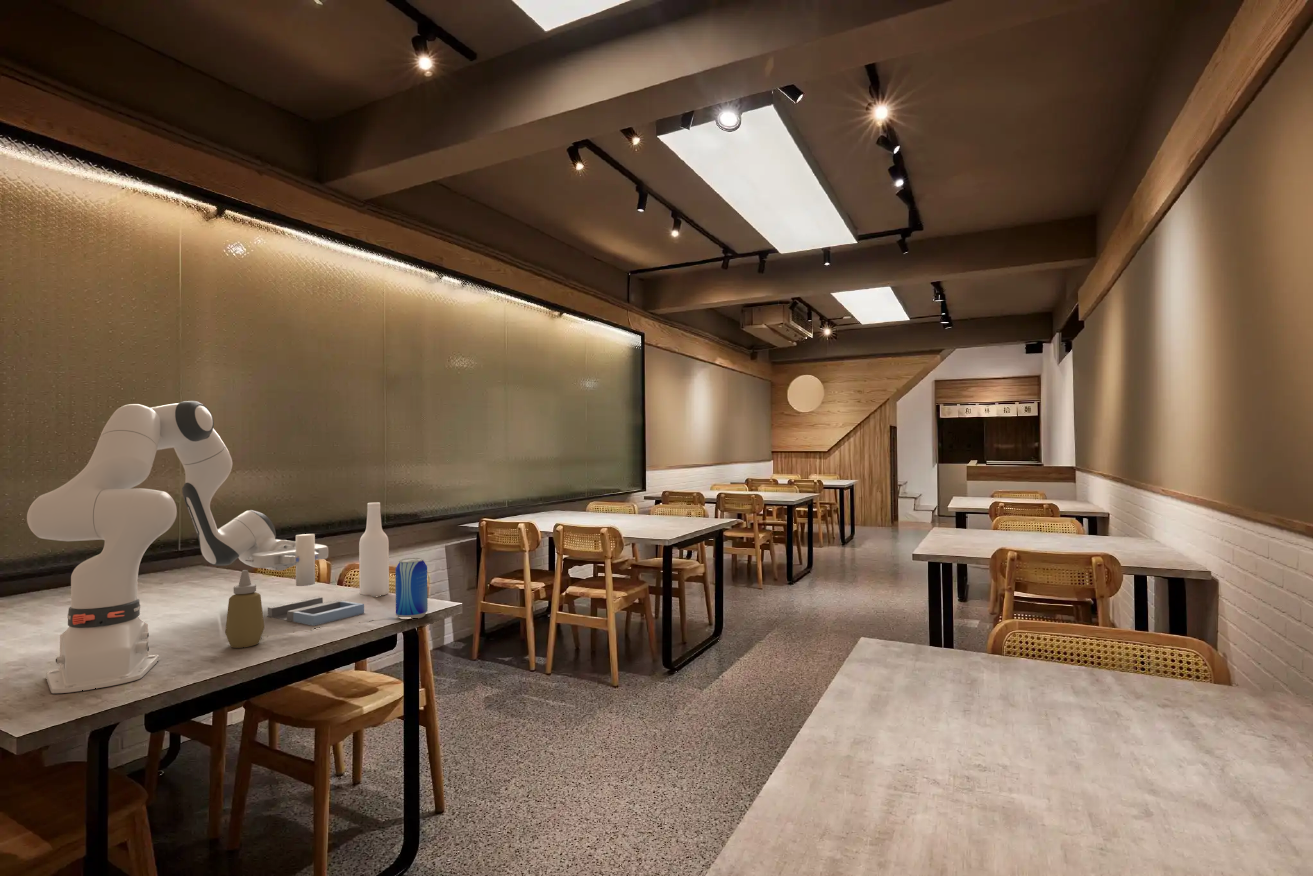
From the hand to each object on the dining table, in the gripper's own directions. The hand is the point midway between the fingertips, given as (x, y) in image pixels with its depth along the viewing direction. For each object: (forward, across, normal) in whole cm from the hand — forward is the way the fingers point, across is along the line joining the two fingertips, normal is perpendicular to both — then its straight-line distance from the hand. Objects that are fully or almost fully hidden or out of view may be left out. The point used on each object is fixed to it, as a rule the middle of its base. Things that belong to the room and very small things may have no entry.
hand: (307, 558), depth 187 cm
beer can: (+27, +14, +17) cm, 35 cm away
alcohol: (-8, +28, +17) cm, 33 cm away
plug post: (-1, 0, +8) cm, 8 cm away
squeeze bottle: (+13, -24, +17) cm, 32 cm away
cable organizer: (+4, 0, +17) cm, 17 cm away
